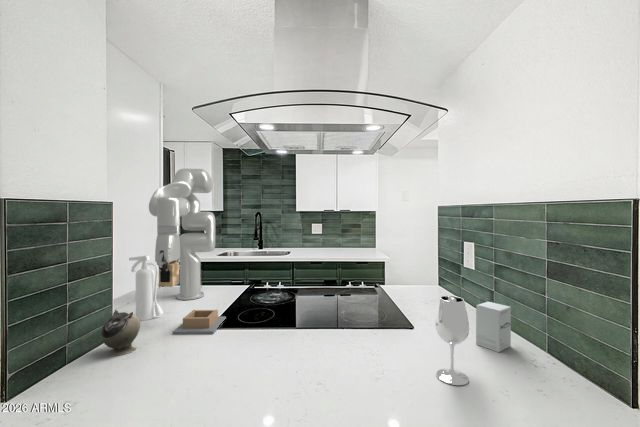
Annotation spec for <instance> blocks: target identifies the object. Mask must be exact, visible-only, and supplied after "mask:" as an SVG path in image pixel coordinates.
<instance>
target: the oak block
mask: <svg viewBox="0 0 640 427" xmlns="http://www.w3.org/2000/svg"><path fill="white" fill-rule="evenodd" d="M165 266H166V264H165ZM158 271H159V273H158V287H161V288H163V287H164V288H172V287H173V288H174V287H176V286H177V285H180V261H178V262H170V264H169V271H170V282H160V268H159V267H158Z"/></svg>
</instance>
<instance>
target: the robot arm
mask: <svg viewBox="0 0 640 427" xmlns="http://www.w3.org/2000/svg"><path fill="white" fill-rule="evenodd" d="M212 190H213V180H212V177H211V175H210V174H209V171H207V170H206V169H203V168H189V167H188V168H180V169H178V170H177V171H176V172H175V175H174V177H173V178H172V181H171V183H168V184H166V185H163V186H161V187H160V188H158V189H156V190H155V191H154V192H153V193H152V196H151V197H150V199H149V203H148V211H149V213H150V215H152V216H153V217H156V225H157V226H156V227H157V228H156V229H157V230H156V231H157V232H156V233H157V235H156V241H155V250H154V251H155V252H154V259H155V260H154V261H155V264H156V265H157V266H158V269H159V268H160V282H170V271H169V264H170V262H179V294H177V295H176V299H177V300H180V301H189V300H190V301H192V300H197V299H200V298H203V297H204V296H205V293H204V292H203V291H202V290H201V289H202V288H203V286H202V283H201V280H202V279H201V275H202V274H201V270H202V269H201V263H202V262H201V259H200V257H199V256H198V255H197V254H196V253H207V252H213V251H214V250H215V248H216V217H215V214H214V213H213V212H212V211H201V202H200V200H199V198H198V197H197V196H196V195H195V194H209V193H211V192H212ZM181 227H182V229H183V230H185V231H204V232H187V233H186V232H185V233H183V234H181ZM165 264H166V266H165Z"/></svg>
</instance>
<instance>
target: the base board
mask: <svg viewBox="0 0 640 427" xmlns="http://www.w3.org/2000/svg"><path fill="white" fill-rule="evenodd" d="M225 319H226V320H227V316H225V315H224V316H223V315H221V316H219V309H193V310H191V311H190V312H189V313H188V314H187V315H184V317H183V318H182V323H181V324H180V325H179V326H177V327H176V328H175V329H174V330H172V335H214V334H215V333H216V332H217V330H218V329H219V328H220V327H219V325H220V324H221V323H222V322H223V321H224V320H225ZM226 320H225V321H226ZM225 321H224V322H225ZM224 322H223V323H224ZM223 323H222V324H223ZM222 324H221V325H222ZM218 327H219V328H218ZM217 328H218V329H217Z"/></svg>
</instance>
